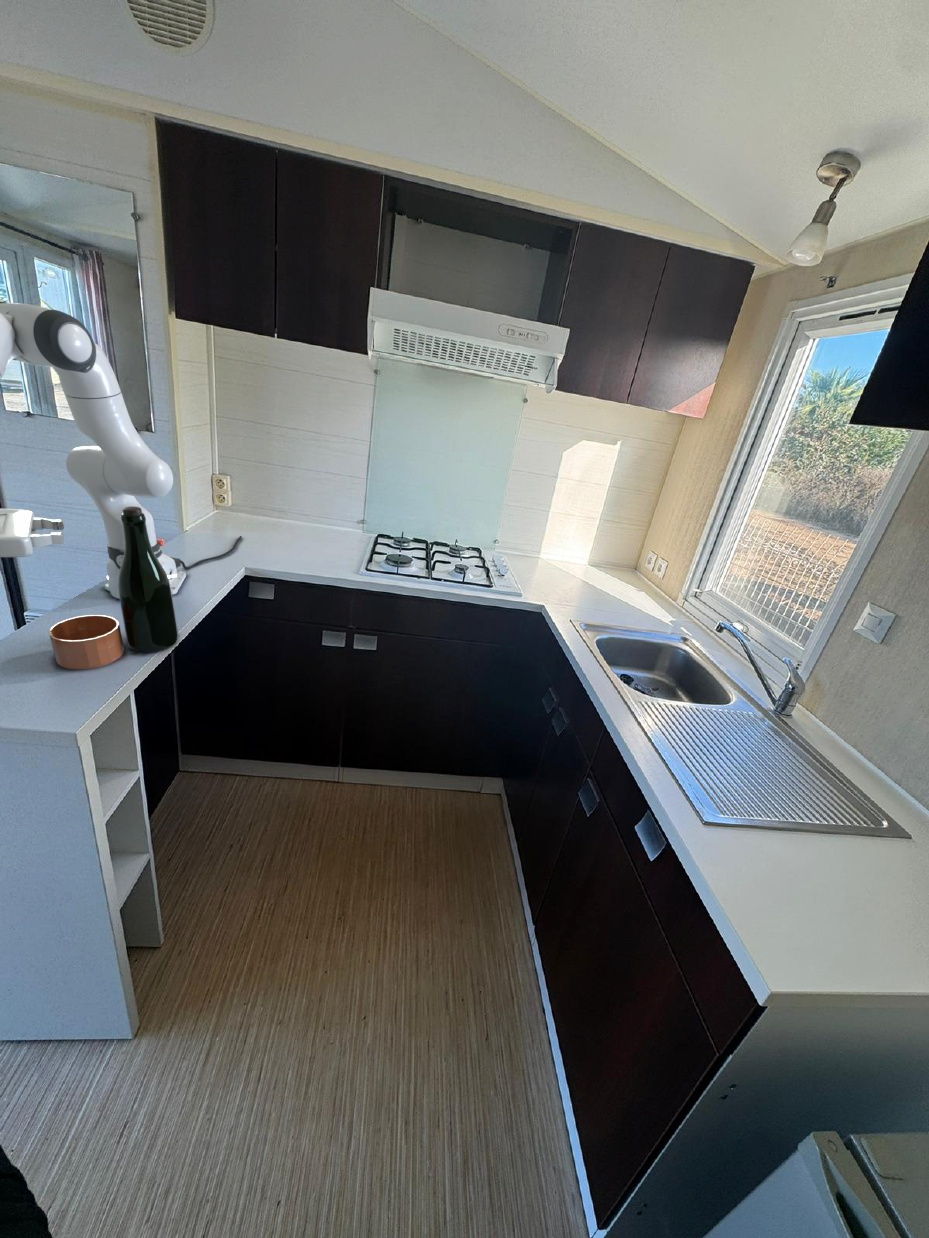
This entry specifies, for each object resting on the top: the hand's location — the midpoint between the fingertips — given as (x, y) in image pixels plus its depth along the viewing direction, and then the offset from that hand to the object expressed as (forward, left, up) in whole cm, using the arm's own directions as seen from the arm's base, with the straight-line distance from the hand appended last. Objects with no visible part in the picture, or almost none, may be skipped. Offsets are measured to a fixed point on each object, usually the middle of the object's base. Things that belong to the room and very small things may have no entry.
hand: (63, 531), depth 97 cm
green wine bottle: (-6, +10, -29) cm, 31 cm away
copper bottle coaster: (+1, 0, -28) cm, 29 cm away
